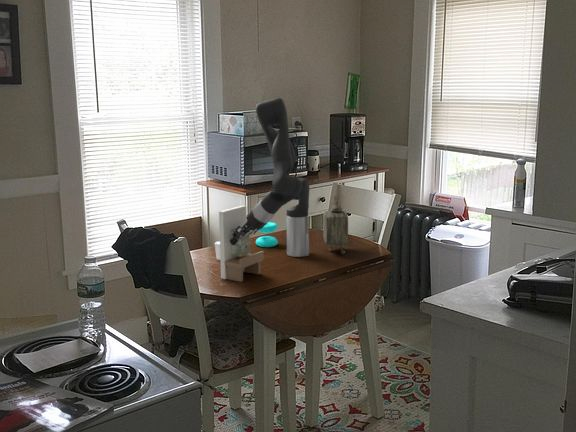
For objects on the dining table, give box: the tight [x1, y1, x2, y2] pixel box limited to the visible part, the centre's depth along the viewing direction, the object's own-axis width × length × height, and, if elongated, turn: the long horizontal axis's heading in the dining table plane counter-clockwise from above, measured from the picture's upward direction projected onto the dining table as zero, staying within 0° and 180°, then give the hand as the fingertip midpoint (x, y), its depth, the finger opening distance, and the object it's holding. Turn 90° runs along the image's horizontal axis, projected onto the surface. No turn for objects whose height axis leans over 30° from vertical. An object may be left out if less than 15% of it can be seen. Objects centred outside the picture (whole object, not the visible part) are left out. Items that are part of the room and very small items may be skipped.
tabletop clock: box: [322, 194, 349, 255], centre depth 275 cm, size 14×9×25 cm, turn 4°
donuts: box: [255, 221, 279, 248], centre depth 288 cm, size 10×10×10 cm
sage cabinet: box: [231, 228, 251, 257], centre depth 240 cm, size 6×6×10 cm
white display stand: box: [218, 205, 265, 283], centre depth 240 cm, size 10×14×26 cm
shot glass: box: [214, 240, 220, 261], centre depth 267 cm, size 7×7×7 cm
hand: (236, 241), depth 241 cm, fingers closed on sage cabinet, 5 cm apart
